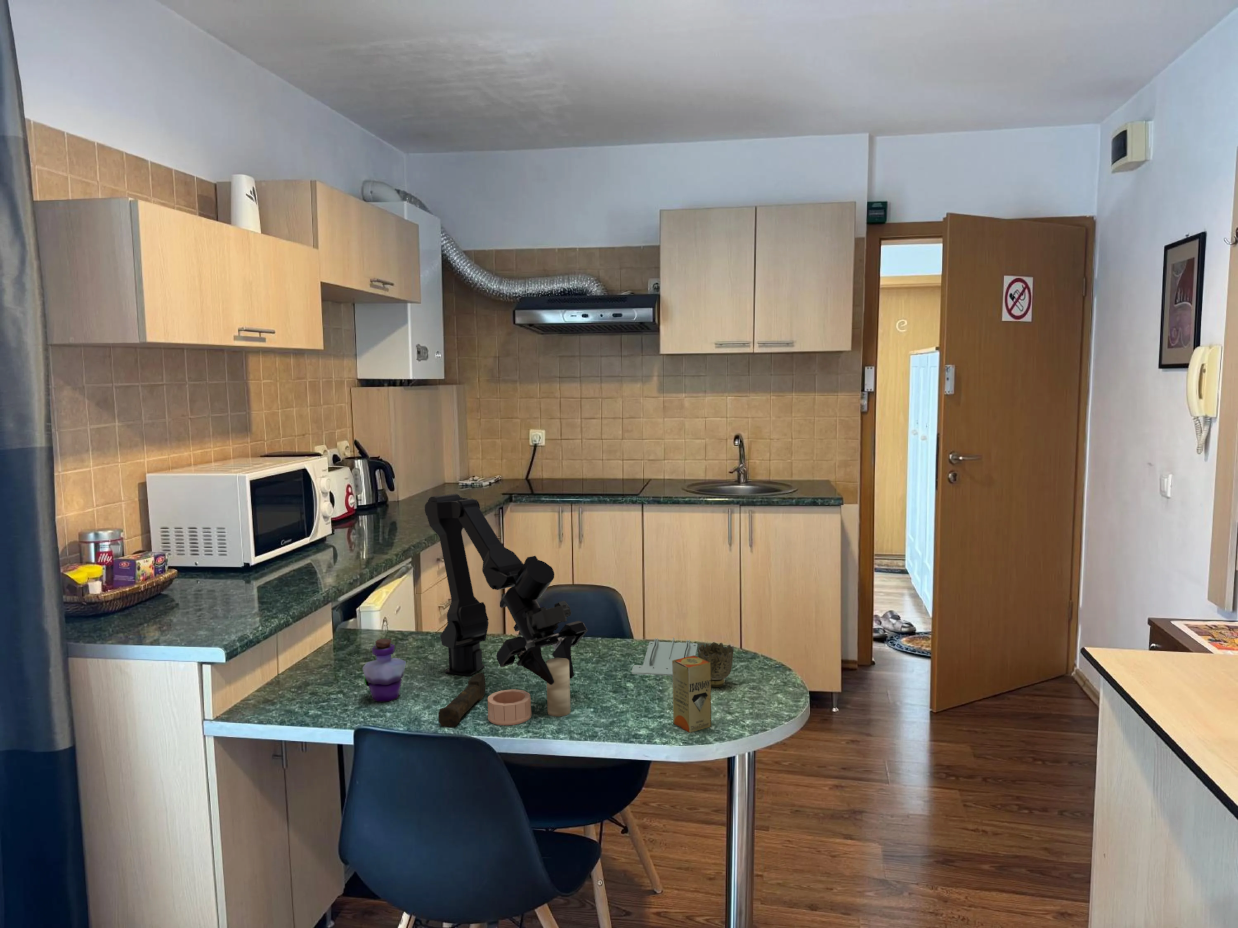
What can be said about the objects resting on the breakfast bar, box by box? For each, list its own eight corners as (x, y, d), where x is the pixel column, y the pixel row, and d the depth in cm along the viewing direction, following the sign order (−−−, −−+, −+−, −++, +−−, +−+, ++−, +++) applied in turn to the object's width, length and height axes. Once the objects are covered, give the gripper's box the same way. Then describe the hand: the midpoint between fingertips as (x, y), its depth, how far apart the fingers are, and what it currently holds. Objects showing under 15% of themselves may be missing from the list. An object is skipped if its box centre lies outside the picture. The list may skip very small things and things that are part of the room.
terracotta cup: (479, 722, 159) (479, 702, 158) (501, 705, 166) (500, 687, 166) (518, 727, 156) (518, 707, 155) (538, 711, 163) (538, 691, 163)
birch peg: (543, 714, 162) (542, 663, 161) (553, 706, 166) (552, 656, 165) (564, 717, 160) (563, 666, 159) (574, 708, 164) (572, 658, 163)
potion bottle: (361, 693, 175) (358, 637, 174) (404, 686, 178) (401, 631, 177) (366, 708, 167) (363, 649, 166) (411, 700, 170) (408, 642, 169)
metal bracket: (641, 632, 194) (706, 634, 191) (643, 653, 197) (707, 656, 193) (629, 669, 182) (699, 673, 178) (631, 692, 184) (700, 695, 180)
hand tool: (457, 729, 156) (456, 705, 156) (437, 727, 157) (437, 703, 157) (497, 692, 175) (496, 670, 174) (479, 691, 176) (478, 669, 175)
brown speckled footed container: (690, 685, 175) (690, 648, 174) (712, 676, 180) (711, 639, 180) (720, 694, 170) (719, 655, 169) (741, 684, 175) (740, 646, 175)
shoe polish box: (673, 723, 156) (672, 660, 155) (694, 717, 159) (694, 655, 158) (689, 732, 152) (688, 667, 151) (711, 726, 155) (710, 662, 153)
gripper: (502, 598, 157) (540, 670, 150) (580, 581, 170) (618, 646, 163) (481, 631, 164) (515, 701, 157) (557, 612, 176) (592, 676, 169)
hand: (562, 680), depth 161 cm, fingers closed on birch peg, 4 cm apart
